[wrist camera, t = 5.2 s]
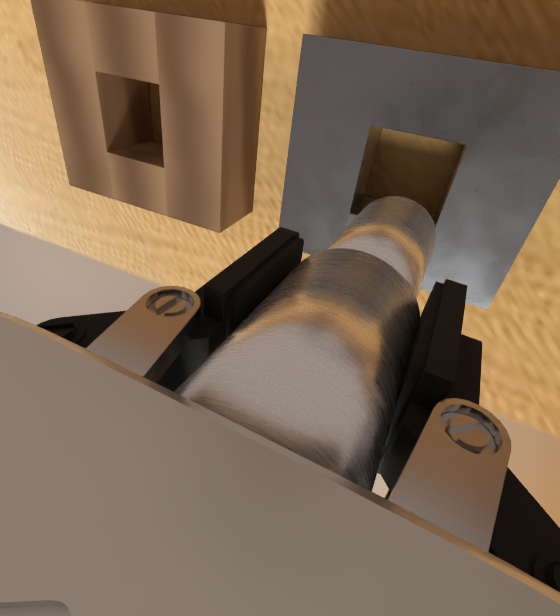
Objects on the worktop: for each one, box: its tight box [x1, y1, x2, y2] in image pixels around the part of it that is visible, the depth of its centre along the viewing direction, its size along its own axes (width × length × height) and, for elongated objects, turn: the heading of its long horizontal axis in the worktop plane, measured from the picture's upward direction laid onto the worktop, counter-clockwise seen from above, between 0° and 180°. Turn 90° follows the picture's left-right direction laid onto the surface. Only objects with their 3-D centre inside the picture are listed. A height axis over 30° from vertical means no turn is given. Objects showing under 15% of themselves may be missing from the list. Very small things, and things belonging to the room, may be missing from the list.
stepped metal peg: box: [174, 196, 436, 492], centre depth 10 cm, size 4×4×12 cm
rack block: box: [31, 0, 267, 233], centre depth 27 cm, size 14×12×5 cm
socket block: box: [279, 34, 560, 310], centre depth 23 cm, size 14×12×4 cm
